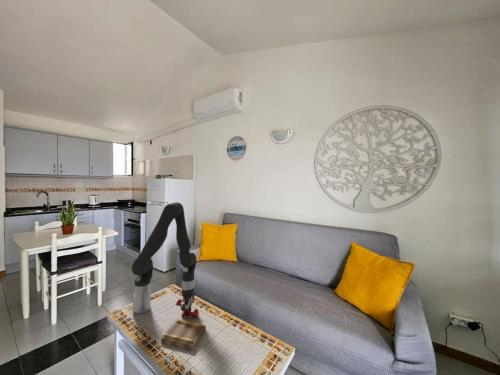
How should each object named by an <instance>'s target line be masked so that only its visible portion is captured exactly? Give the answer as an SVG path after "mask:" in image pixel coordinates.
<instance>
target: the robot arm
mask: <svg viewBox="0 0 500 375" xmlns="http://www.w3.org/2000/svg"><path fill="white" fill-rule="evenodd" d="M174 220H175V225H176V227H175V228H176V229H175V230H176V232H175V234H176V235H175V236H176V238H175V239H176V243H177V246H178V249H179V252H178V253H179V263H180V265H181V266H182V267H183V268H184V269H183V271H182V281H181V296H182V299H183V302H182V303H180V306H179V307H180V310H181V312H183V311H184V316H186V317H187V316H188V306H189V303H191V304H192V305H193V304H194V301H195V297H196V293H195V289H196V288H195V286H196V284H195V282H196V281H195V270H196V265H197V255H196V254H195V253H194V252H191V251H190V250H191V241H190V237H189V234H188V229H187V226H186V225H187V224H186V218H185V210H184V206H183V204H182V203H180V202H178V201H177V202H175V201H174V202H170V203H168V204H166V205H165V206H164V207H163V209H162V212H161V215H160V217H159V219H158V221H157V223H156V225H155V227H154V228H153V230H152V231H151V233H150V234H149V237H148V239H147V240H146V242H145V244H144V246H143V248H142V249H141V252H140V253H139V254H138V256H137V258H136V259H135V260H134V261H133V263H132V265H131V272H132V274H133V275H134V276H137V277H136V278H134V293H133V294H134V295H133V296H132V312H134V313H135V314H137V315H141V314H142V315H143V314H146V313H148V312H149V311H150V310H151V306H152V305H151V302H152V301H151V300H152V299H151V298H152V297H151V296H152V294H151V293H152V292H151V291H152V287H151V286H152V285H151V284H152V278H153V271H154V263H153V259H152V257H153V256H155V254H156V253H158V252H159V250H160V249H161V248H162V246H163V245H164V243H165V241H166V240H167V237H168V233H169V231H168V230H169V227H170V225H171V223H172V222H173V221H174ZM186 304H188V305H186ZM189 309H190V310H191V311H192V306H191V307H190V308H189Z"/></svg>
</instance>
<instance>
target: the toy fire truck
mask: <svg viewBox="0 0 500 375" xmlns="http://www.w3.org/2000/svg"><path fill="white" fill-rule="evenodd" d="M182 302H183V298H180V299H178V300H177V301H176V303H175V306H177V307H178V306H179V307H180V303H182ZM186 305H188V304H186ZM192 306H193V303H192V304H191V303H189V306H188V316H187V317H186V316H184V311H182V313H181V318H184V319H193V320H195V319H196V320H197V319H198V318H199V316H200V315H199V314H200V312H199V310H198V309H197V308H195V309H194V310H193V311H192V309H191V310H190V309H189V308H190V307H191V308H192Z"/></svg>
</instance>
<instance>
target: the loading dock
mask: <svg viewBox="0 0 500 375" xmlns="http://www.w3.org/2000/svg"><path fill="white" fill-rule="evenodd" d="M206 328H207V325H204V324H200V323H196V322H191V321H187V320H183V319H176V320H175V321H174V323H173V324H172V325H171V326H170V327H169V328H168V329H167V330H166V331H165V333H163V335H162V336H160V343H161V344H164V345H166V346H167V345H168V346H171V347H176V348H179V349H183V350H187V351H192V352H193V351H194V350H195V348H196V346H198V344H199V342H200V341H201V339H202V338H203V336H204V335H205V333H206Z"/></svg>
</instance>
